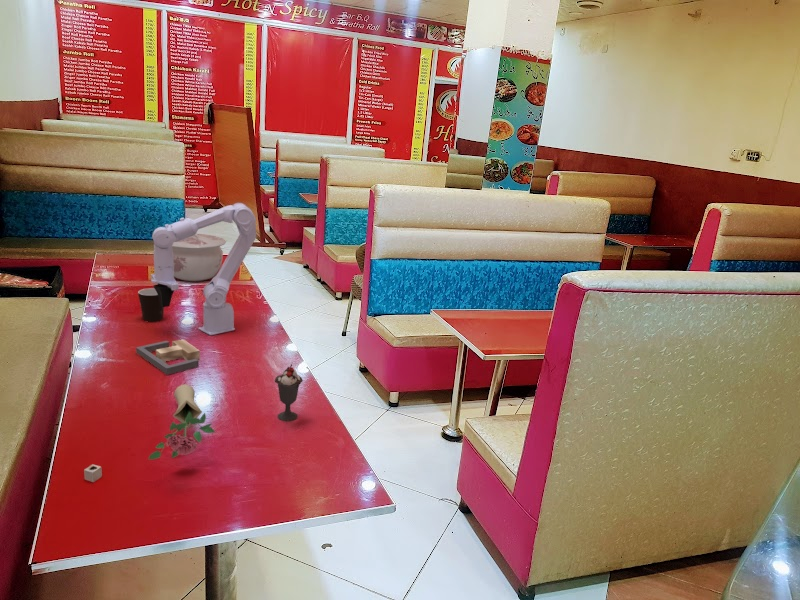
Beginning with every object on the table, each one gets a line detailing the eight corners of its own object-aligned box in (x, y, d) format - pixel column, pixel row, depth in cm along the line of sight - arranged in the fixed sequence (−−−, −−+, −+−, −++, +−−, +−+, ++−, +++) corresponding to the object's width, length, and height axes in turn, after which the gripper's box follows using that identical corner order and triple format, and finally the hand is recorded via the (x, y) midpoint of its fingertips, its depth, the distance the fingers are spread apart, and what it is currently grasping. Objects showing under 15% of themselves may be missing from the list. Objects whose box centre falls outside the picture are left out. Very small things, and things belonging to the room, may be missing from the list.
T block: (183, 348, 176) (183, 339, 176) (199, 359, 169) (199, 350, 168) (150, 354, 170) (150, 345, 169) (166, 367, 162) (166, 357, 161)
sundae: (288, 426, 137) (290, 369, 133) (268, 417, 140) (269, 361, 136) (306, 416, 142) (309, 360, 138) (286, 407, 146) (288, 353, 141)
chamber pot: (214, 288, 239) (214, 239, 233) (149, 282, 238) (147, 234, 232) (234, 272, 266) (234, 228, 260) (175, 267, 265) (174, 223, 259)
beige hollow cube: (93, 474, 113) (92, 463, 113) (102, 476, 113) (101, 465, 112) (84, 479, 111) (83, 468, 111) (93, 482, 111) (92, 471, 110)
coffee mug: (156, 324, 193) (155, 296, 190) (134, 321, 195) (132, 293, 192) (176, 314, 204) (175, 288, 201) (154, 311, 206) (153, 284, 203)
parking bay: (167, 346, 176) (166, 340, 176) (198, 366, 165) (198, 360, 164) (136, 353, 170) (136, 347, 169) (166, 375, 158) (166, 368, 157)
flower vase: (199, 431, 145) (209, 482, 113) (149, 422, 141) (144, 473, 108) (212, 386, 146) (226, 425, 114) (163, 376, 141) (162, 413, 109)
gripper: (140, 262, 182) (143, 302, 186) (162, 272, 173) (164, 314, 176) (162, 259, 187) (163, 299, 191) (184, 269, 178) (185, 310, 182)
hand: (165, 306), depth 184 cm, fingers closed
